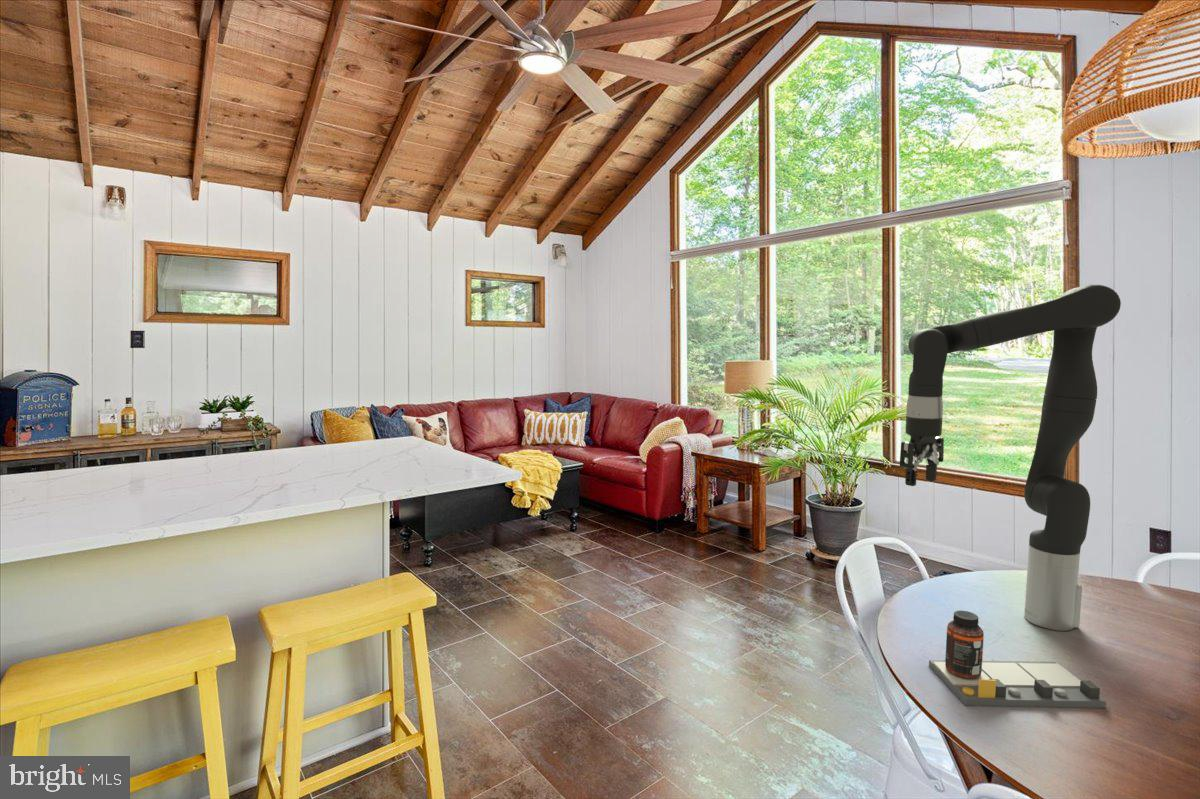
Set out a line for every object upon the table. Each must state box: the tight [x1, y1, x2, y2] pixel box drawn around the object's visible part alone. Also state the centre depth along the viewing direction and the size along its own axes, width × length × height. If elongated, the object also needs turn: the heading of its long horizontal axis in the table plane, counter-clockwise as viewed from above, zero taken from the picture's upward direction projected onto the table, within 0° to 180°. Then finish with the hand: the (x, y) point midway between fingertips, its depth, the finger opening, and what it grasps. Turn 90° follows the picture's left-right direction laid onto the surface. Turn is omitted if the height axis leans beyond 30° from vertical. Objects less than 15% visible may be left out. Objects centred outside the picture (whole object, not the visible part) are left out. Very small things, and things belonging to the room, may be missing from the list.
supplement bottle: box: [944, 610, 985, 679], centre depth 115 cm, size 6×6×11 cm
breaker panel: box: [928, 659, 1107, 709], centre depth 113 cm, size 24×13×4 cm, turn 87°
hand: (920, 482), depth 144 cm, fingers open, 8 cm apart
